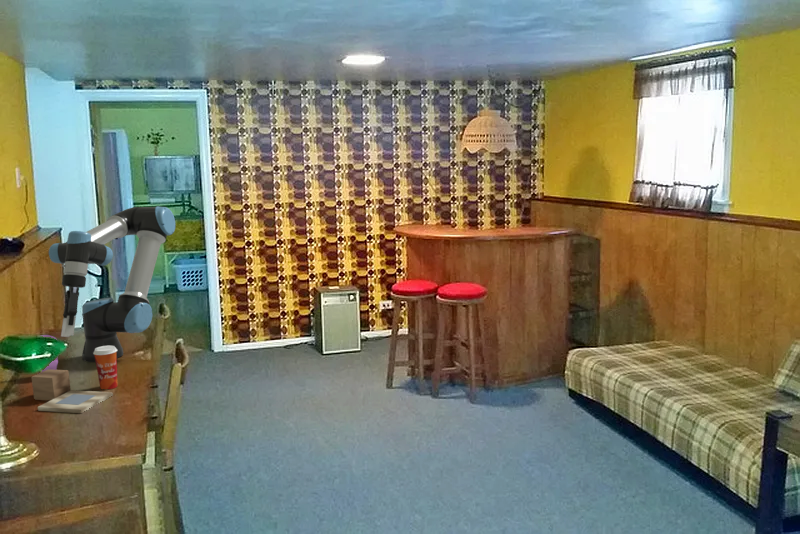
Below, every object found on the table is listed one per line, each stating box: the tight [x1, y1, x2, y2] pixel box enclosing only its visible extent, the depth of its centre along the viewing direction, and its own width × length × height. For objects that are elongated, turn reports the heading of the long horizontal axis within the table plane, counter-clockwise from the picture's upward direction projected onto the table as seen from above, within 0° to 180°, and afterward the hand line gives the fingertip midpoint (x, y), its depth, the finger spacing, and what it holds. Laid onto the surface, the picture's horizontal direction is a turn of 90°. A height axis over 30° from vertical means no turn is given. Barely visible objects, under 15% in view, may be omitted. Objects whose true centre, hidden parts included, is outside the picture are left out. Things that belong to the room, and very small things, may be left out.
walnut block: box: [31, 369, 72, 401], centre depth 245 cm, size 8×8×8 cm
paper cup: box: [93, 346, 119, 391], centre depth 251 cm, size 8×8×14 cm
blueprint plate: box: [37, 389, 114, 414], centre depth 237 cm, size 16×16×1 cm
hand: (67, 336), depth 251 cm, fingers open, 13 cm apart
